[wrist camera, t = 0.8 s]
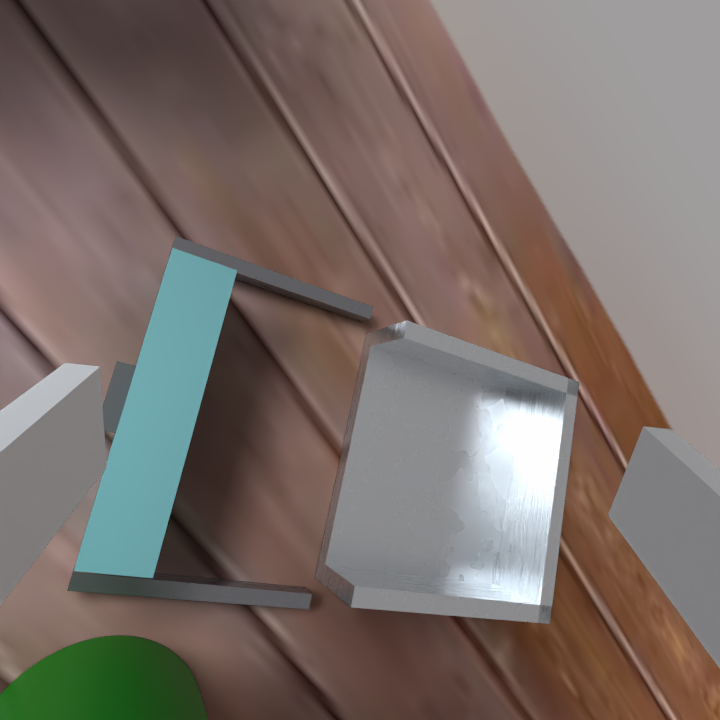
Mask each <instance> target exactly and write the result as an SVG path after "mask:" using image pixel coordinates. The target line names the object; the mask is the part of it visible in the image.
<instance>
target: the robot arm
mask: <svg viewBox="0 0 720 720" xmlns="http://www.w3.org/2000/svg"><path fill="white" fill-rule="evenodd" d="M106 468H107V466H106V451H105V436H104V421H103V406H102V391H101V375H100V367H98V366H89V365H80V364H71V363H65V364H63V365H62V366H60V367H59V368H58V369H56V370H55V371H54V372H52V373H51V374H50V375H48V376H47V377H46V378H44V379H43V380H41V381H40V382H39V383H37V384H36V385H35V386H33V387H32V388H31V389H29V390H28V391H27V392H25V393H24V394H23V395H21V396H20V397H18V398H17V399H16V400H14V401H13V402H12V403H10V404H9V405H8V406H6V407H5V408H4V409H2V410H1V411H0V606H1V604H2V603H3V602H4V601H5V599H6V598H7V597H8V595H9V594H10V593H11V591H12V590H13V589H14V588H15V586H16V585H17V584H18V582H19V581H20V580H21V578H22V577H23V576H24V575H25V573H26V572H27V571H28V569H29V568H30V567H31V565H32V564H33V563H34V562H35V560H36V559H37V558H38V556H39V555H40V554H41V552H42V551H43V550H44V548H45V547H46V546H47V545H48V543H49V542H50V541H51V539H52V538H53V537H54V535H55V534H56V533H57V532H58V530H59V529H60V528H61V526H62V525H63V524H64V522H65V521H66V520H67V519H68V517H69V516H70V515H71V513H72V512H73V511H74V509H75V508H76V507H77V506H78V504H79V503H80V502H81V500H82V499H83V498H84V496H85V495H86V494H87V492H88V491H89V490H90V489H91V487H92V486H93V485H94V483H95V482H96V481H97V479H98V478H99V477H100V476H101V474H102V473H103V472H104V470H105V469H106ZM608 516H609V517H610V519H611V520H612V522H613V523H614V524H615V526H616V527H617V528H618V530H619V531H620V533H621V534H622V535H623V537H624V538H625V539H626V541H627V542H628V544H629V545H630V546H631V548H632V549H633V550H634V552H635V553H636V555H637V556H638V557H639V559H640V560H641V561H642V563H643V564H644V565H645V567H646V568H647V570H648V571H649V572H650V574H651V575H652V576H653V578H654V579H655V581H656V582H657V583H658V585H659V586H660V587H661V589H662V590H663V592H664V593H665V594H666V596H667V597H668V598H669V600H670V601H671V603H672V604H673V605H674V607H675V608H676V609H677V611H678V612H679V613H680V615H681V616H682V618H683V619H684V620H685V622H686V623H687V624H688V626H689V627H690V629H691V630H692V631H693V633H694V634H695V635H696V637H697V638H698V640H699V641H700V642H701V644H702V645H703V646H704V648H705V649H706V651H707V652H708V653H709V655H710V656H711V657H712V659H713V660H714V661H715V663H716V664H717V666H718V667H719V668H720V469H719V468H718V467H716V466H715V465H714V464H713V463H712V462H710V461H709V460H708V459H707V458H706V457H705V456H703V455H702V454H701V453H700V452H698V451H697V450H696V449H695V448H694V447H693V446H691V445H690V444H689V443H688V442H686V441H685V440H684V439H683V438H682V437H681V436H679V435H678V434H677V433H676V432H675V431H673V430H672V429H663V428H653V427H644V426H643V428H642V431H641V433H640V436H639V439H638V441H637V444H636V446H635V449H634V451H633V454H632V456H631V459H630V461H629V464H628V466H627V469H626V471H625V474H624V476H623V479H622V481H621V484H620V486H619V489H618V491H617V494H616V496H615V499H614V501H613V504H612V506H611V509H610V511H609V514H608Z"/></svg>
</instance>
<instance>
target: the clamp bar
mask: <svg viewBox="0 0 720 720" xmlns="http://www.w3.org/2000/svg"><path fill="white" fill-rule="evenodd" d="M236 273H237V270H235V269H232V268H229V267H226V266H223V265H220V264H218V263H215V262H212V261H209V260H206V259H203V258H200V257H197V256H195V255H192V254H189V253H186V252H183V251H180V250H177V249H175V248H172V251H171V254H170V257H169V260H168V263H167V266H166V270H165V273H164V276H163V279H162V282H161V286H160V289H159V292H158V295H157V299H156V302H155V305H154V308H153V312H152V315H151V318H150V322H149V325H148V328H147V331H146V335H145V338H144V341H143V344H142V348H141V351H140V354H139V358H138V361H137V364H136V366H134V365H130V364H126V363H122V362H118V361H117V363H116V366H115V369H114V372H113V375H112V378H111V382H110V385H109V388H108V391H107V394H106V398H105V401H104V404H103V421H104V431H108V432H113V433H115V436H114V439H113V443H112V446H111V449H110V452H109V456H108V459H107V462H106V466H107V468H106V469H105V470H104V472H103V475H102V479H101V482H100V485H99V488H98V492H97V495H96V498H95V501H94V505H93V508H92V511H91V515H90V518H89V521H88V524H87V528H86V531H85V534H84V537H83V541H82V544H81V548H80V551H79V555H78V558H77V561H76V565H75V568H74V571H79V572H90V573H101V574H112V575H123V576H134V577H144V578H153V576H154V572H155V568H156V565H157V561H158V557H159V554H160V550H161V547H162V543H163V539H164V536H165V532H166V528H167V525H168V521H169V517H170V514H171V510H172V506H173V503H174V499H175V496H176V492H177V488H178V485H179V481H180V477H181V474H182V470H183V466H184V463H185V459H186V455H187V452H188V448H189V445H190V441H191V437H192V434H193V430H194V426H195V423H196V419H197V415H198V412H199V408H200V404H201V401H202V397H203V394H204V390H205V386H206V383H207V379H208V375H209V372H210V368H211V364H212V361H213V357H214V353H215V350H216V346H217V343H218V339H219V335H220V332H221V328H222V324H223V321H224V317H225V313H226V310H227V306H228V302H229V299H230V295H231V292H232V288H233V284H234V281H235V277H236Z"/></svg>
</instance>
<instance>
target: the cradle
mask: <svg viewBox="0 0 720 720" xmlns="http://www.w3.org/2000/svg"><path fill="white" fill-rule="evenodd" d="M578 387H579V382H578V381H575V380H572V379H569V378H566V377H564V376H561V375H558V374H555V373H552V372H550V371H547V370H544V369H541V368H539V367H536V366H533V365H530V364H527V363H525V362H522V361H519V360H516V359H513V358H511V357H508V356H505V355H502V354H499V353H497V352H494V351H491V350H488V349H485V348H483V347H480V346H477V345H474V344H471V343H469V342H466V341H463V340H460V339H457V338H455V337H452V336H449V335H446V334H443V333H441V332H438V331H435V330H432V329H429V328H427V327H424V326H421V325H418V324H415V323H413V322H410V321H404V322H401V323H398V324H395V325H392V326H389V327H385V328H382V329H379V330H376V331H373V332H370V333H367V335H366V340H365V345H364V350H363V354H362V359H361V364H360V368H359V373H358V378H357V382H356V387H355V392H354V397H353V401H352V406H351V411H350V415H349V420H348V425H347V430H346V434H345V439H344V444H343V448H342V453H341V458H340V462H339V467H338V472H337V477H336V481H335V486H334V491H333V495H332V500H331V505H330V509H329V514H328V519H327V524H326V528H325V533H324V538H323V542H322V547H321V552H320V557H319V561H318V566H317V571H316V575H315V578H317V579H318V580H319V581H320V582H321V583H322V584H324V585H325V586H326V587H327V588H328V589H330V590H331V591H332V592H333V593H334V594H336V595H337V596H338V597H339V598H340V599H341V600H343V601H344V602H345V603H346V604H347V605H349V606H350V607H352V608H364V609H376V610H389V611H401V612H413V613H425V614H437V615H449V616H461V617H473V618H486V619H498V620H510V621H522V622H534V623H546V624H550V619H551V611H552V603H553V594H554V586H555V578H556V570H557V561H558V553H559V545H560V536H561V528H562V520H563V512H564V503H565V495H566V487H567V479H568V470H569V462H570V454H571V445H572V437H573V429H574V421H575V412H576V404H577V396H578Z"/></svg>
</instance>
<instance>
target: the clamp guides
mask: <svg viewBox="0 0 720 720" xmlns="http://www.w3.org/2000/svg"><path fill="white" fill-rule="evenodd" d="M172 248H175V249H177V250H180V251H183V252H186V253H189V254H192V255H195V256H197V257H200V258H203V259H206V260H209V261H212V262H215V263H218V264H220V265H223V266H226V267H229V268H232V269H235V270H237V273H236V277H235V279H237V280H240V281H243V282H246V283H249V284H251V285H254V286H257V287H260V288H263V289H266V290H269V291H272V292H275V293H278V294H281V295H284V296H287V297H290V298H292V299H295V300H298V301H301V302H304V303H307V304H310V305H313V306H316V307H319V308H322V309H325V310H328V311H331V312H333V313H336V314H339V315H342V316H345V317H348V318H351V319H354V320H357V321H360V322H364V321H367V320H369V319H371V314H372V310H373V307H372V306H369V305H366V304H363V303H360V302H358V301H355V300H352V299H349V298H347V297H344V296H341V295H338V294H335V293H333V292H330V291H327V290H324V289H321V288H319V287H316V286H313V285H310V284H308V283H305V282H302V281H299V280H296V279H294V278H291V277H288V276H285V275H282V274H280V273H277V272H274V271H271V270H269V269H266V268H263V267H260V266H257V265H255V264H252V263H249V262H246V261H243V260H241V259H238V258H235V257H232V256H229V255H227V254H224V253H221V252H218V251H216V250H213V249H210V248H207V247H204V246H202V245H199V244H196V243H193V242H190V241H188V240H185V239H182V238H179V237H177V236H176V237H175V240H174V243H173V246H172ZM171 251H172V250H171ZM170 254H171V253H170ZM169 257H170V256H169ZM74 568H75V567H74ZM67 591H79V592H92V593H105V594H117V595H130V596H143V597H156V598H169V599H182V600H195V601H207V602H220V603H233V604H246V605H259V606H272V607H285V608H298V609H309V606H310V601H311V597H312V594H311V593H310V592H309V591H308V590H307V589H306V588H305V587H296V586H286V585H276V584H265V583H255V582H245V581H234V580H224V579H213V578H203V577H193V576H182V575H172V574H162V573H154V576H153V578H144V577H134V576H123V575H112V574H101V573H90V572H79V571H74V570H73V573H72V577H71V580H70V583H69V587H68V590H67Z"/></svg>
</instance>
